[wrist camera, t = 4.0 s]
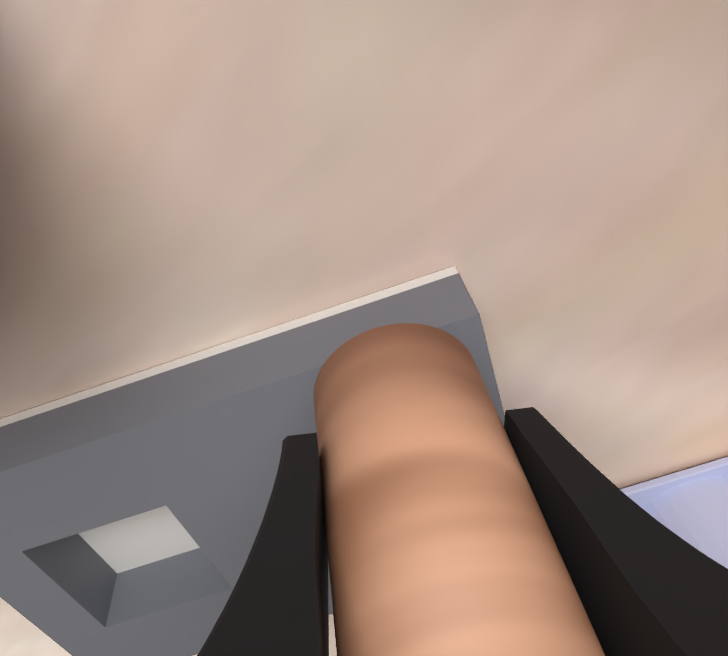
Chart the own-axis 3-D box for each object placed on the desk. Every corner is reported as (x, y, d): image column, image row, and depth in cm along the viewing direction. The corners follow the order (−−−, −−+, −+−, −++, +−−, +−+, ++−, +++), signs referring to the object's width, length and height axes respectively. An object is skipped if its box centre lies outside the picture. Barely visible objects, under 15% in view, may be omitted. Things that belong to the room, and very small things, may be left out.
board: (515, 496, 29) (538, 551, 26) (117, 618, 30) (104, 681, 28) (454, 265, 21) (479, 313, 19) (-69, 442, 23) (-110, 508, 20)
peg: (472, 441, 16) (607, 803, 10) (320, 459, 16) (356, 846, 10) (483, 314, 14) (669, 677, 8) (306, 333, 14) (341, 729, 7)
